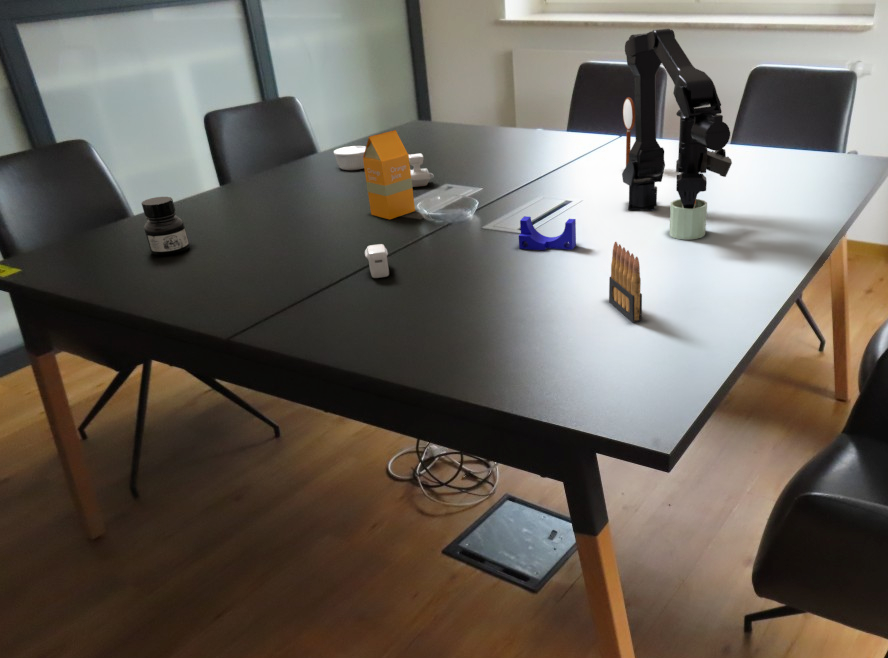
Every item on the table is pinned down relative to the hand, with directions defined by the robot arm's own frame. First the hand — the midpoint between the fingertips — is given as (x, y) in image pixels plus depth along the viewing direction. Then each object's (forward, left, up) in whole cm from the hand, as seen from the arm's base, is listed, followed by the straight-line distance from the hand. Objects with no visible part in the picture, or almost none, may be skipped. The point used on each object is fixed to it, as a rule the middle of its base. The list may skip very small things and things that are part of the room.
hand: (688, 212), depth 185 cm
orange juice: (-75, +17, -5) cm, 77 cm away
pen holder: (0, 0, -5) cm, 5 cm away
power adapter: (-66, -24, -5) cm, 71 cm away
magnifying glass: (-16, +56, -5) cm, 58 cm away
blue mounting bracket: (-31, -9, -5) cm, 33 cm away
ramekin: (-102, +65, -5) cm, 121 cm away
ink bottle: (-122, -12, -5) cm, 123 cm away
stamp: (-75, +43, -5) cm, 87 cm away
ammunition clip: (-12, -44, -5) cm, 46 cm away
